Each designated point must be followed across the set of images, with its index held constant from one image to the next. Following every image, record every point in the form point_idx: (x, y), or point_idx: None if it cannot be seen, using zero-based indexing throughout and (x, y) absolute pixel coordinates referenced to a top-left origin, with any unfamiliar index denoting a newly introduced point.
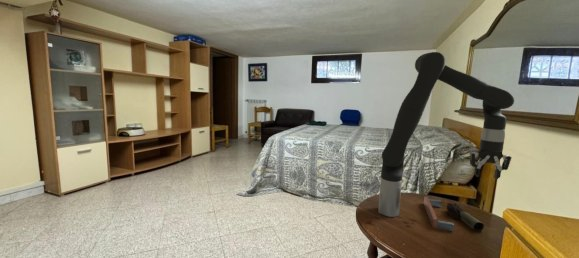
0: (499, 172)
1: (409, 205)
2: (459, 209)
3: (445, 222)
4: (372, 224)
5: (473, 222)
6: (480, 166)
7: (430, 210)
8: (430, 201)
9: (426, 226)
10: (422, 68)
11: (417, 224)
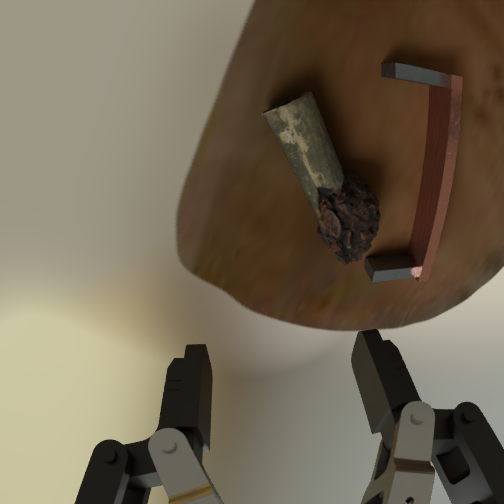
0: (174, 412)
1: (462, 226)
2: (343, 204)
3: (421, 75)
4: None
5: (312, 104)
6: (405, 433)
7: (456, 152)
8: (407, 265)
9: None
10: None
11: (476, 87)
